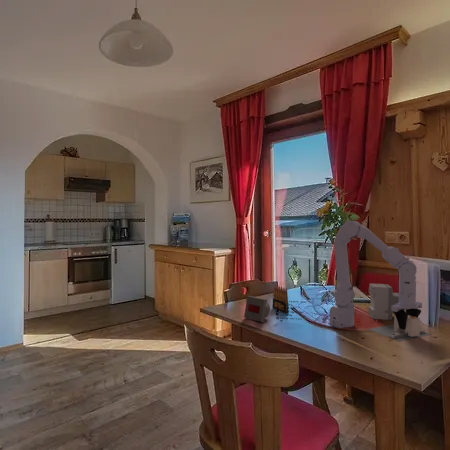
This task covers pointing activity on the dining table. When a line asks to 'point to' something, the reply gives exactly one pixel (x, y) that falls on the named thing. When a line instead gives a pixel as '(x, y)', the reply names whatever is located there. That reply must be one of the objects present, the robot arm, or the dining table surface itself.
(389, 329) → the board
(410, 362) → the dining table surface
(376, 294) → the circuit breaker
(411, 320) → the block
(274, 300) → the ammunition clip
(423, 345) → the dining table surface
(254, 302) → the voltmeter
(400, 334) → the din rail
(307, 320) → the dining table surface
